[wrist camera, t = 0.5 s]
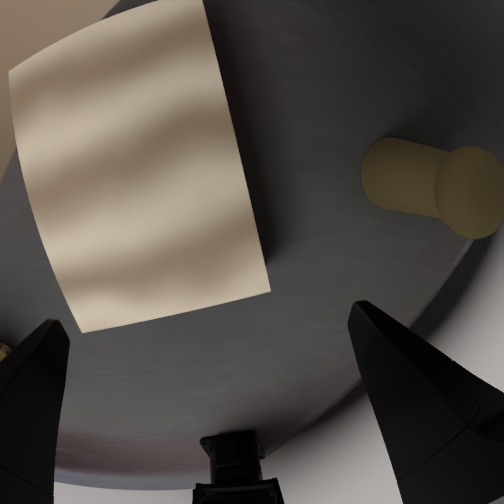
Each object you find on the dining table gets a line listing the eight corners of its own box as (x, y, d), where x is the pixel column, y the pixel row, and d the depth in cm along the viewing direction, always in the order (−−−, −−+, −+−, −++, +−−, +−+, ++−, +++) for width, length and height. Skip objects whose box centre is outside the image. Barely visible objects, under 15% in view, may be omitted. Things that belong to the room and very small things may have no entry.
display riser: (262, 268, 23) (270, 291, 19) (98, 307, 22) (82, 333, 19) (202, 15, 16) (199, -10, 12) (35, 79, 16) (8, 71, 12)
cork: (425, 199, 23) (521, 234, 12) (369, 219, 23) (461, 270, 12) (412, 131, 21) (515, 134, 10) (352, 145, 21) (452, 149, 10)
